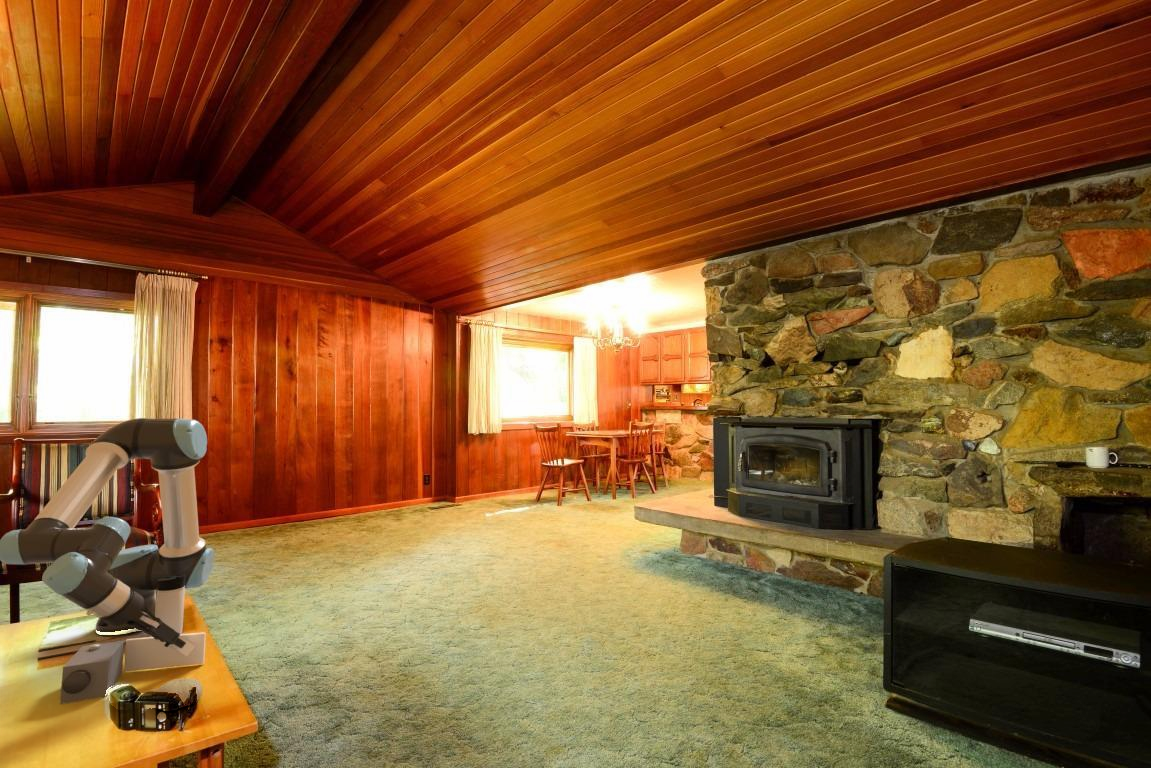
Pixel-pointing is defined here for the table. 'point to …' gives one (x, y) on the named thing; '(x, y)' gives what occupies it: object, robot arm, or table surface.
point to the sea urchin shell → (182, 687)
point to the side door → (162, 653)
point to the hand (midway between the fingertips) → (189, 650)
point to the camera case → (92, 671)
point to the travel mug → (171, 601)
